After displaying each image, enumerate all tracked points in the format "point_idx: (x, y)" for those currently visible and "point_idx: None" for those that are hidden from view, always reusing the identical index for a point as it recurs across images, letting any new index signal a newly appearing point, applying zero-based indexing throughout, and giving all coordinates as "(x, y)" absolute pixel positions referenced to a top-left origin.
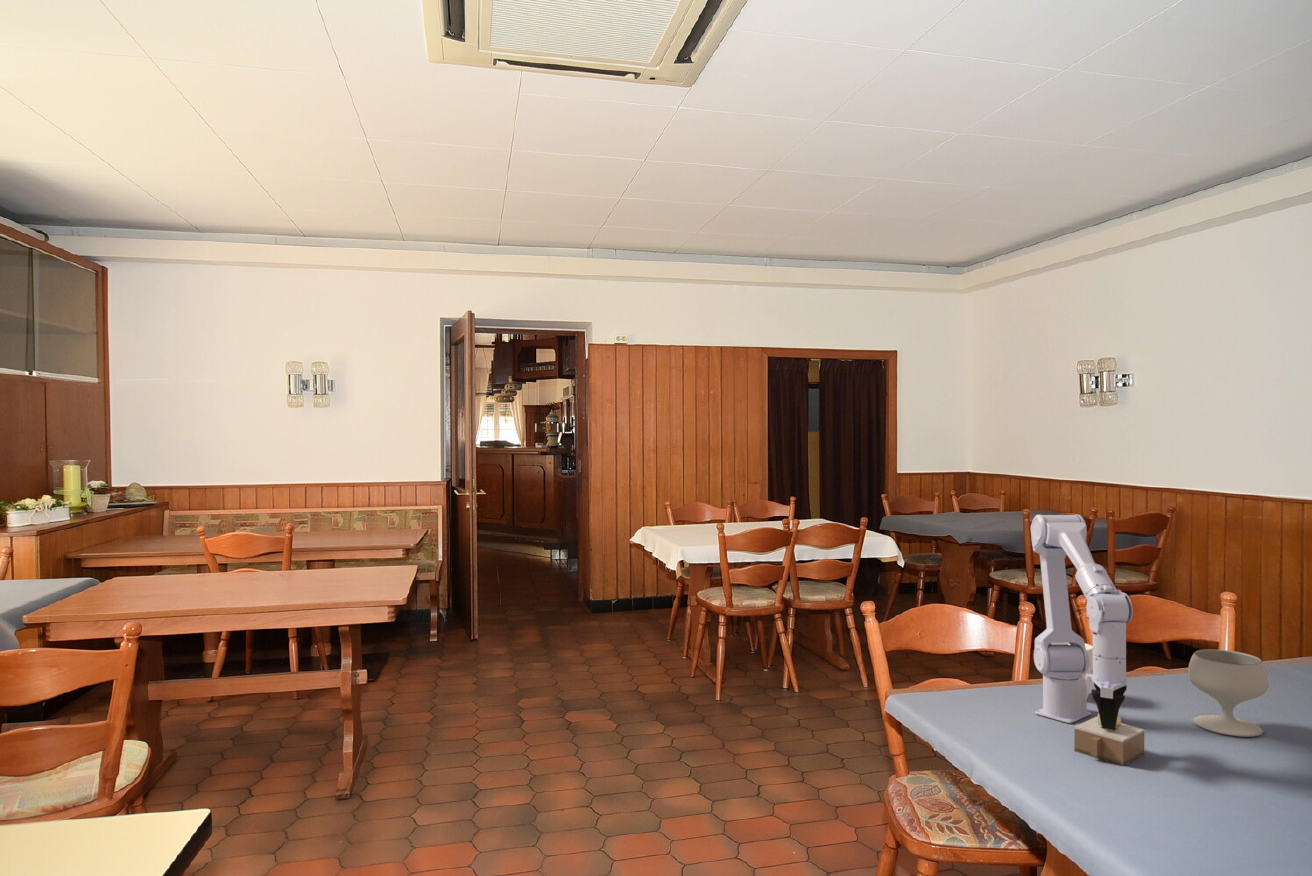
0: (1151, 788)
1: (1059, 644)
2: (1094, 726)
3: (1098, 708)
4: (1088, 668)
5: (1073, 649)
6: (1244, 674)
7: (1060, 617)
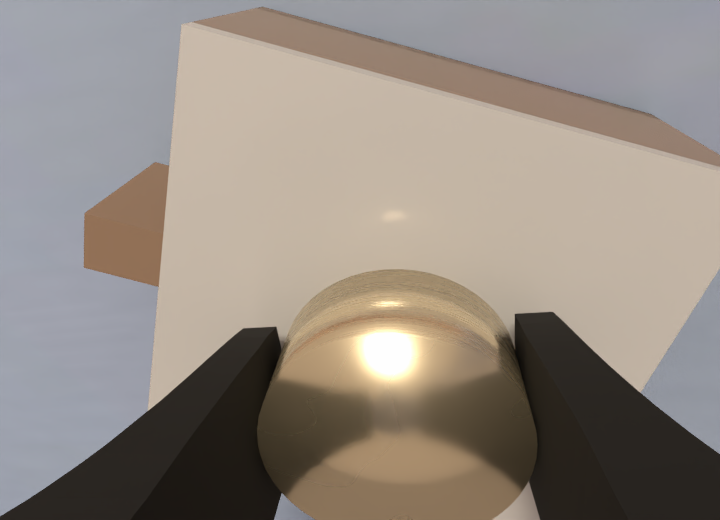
0: (20, 453)
1: None
2: (350, 224)
3: (47, 492)
4: None
5: None
6: None
7: None
